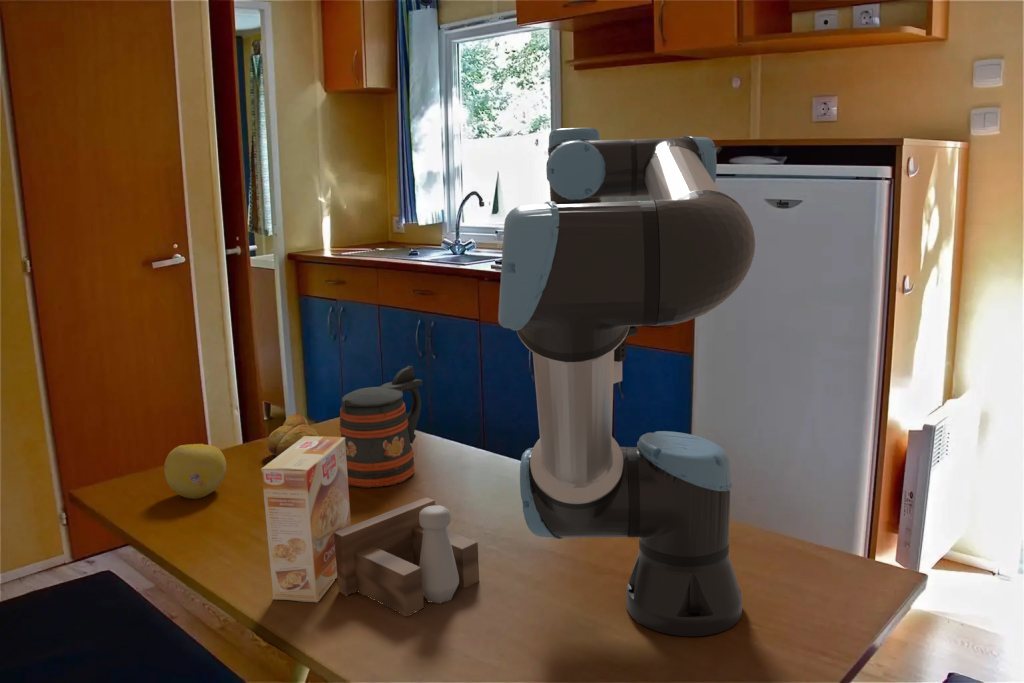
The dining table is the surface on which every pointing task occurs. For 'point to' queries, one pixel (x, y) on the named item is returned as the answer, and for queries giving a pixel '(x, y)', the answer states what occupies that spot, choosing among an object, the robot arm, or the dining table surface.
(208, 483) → the fruit
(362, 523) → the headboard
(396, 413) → the beer stein
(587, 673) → the dining table surface
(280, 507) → the coffeecake box
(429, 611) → the dining table surface
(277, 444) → the bread roll
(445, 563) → the salt shaker
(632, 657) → the dining table surface
